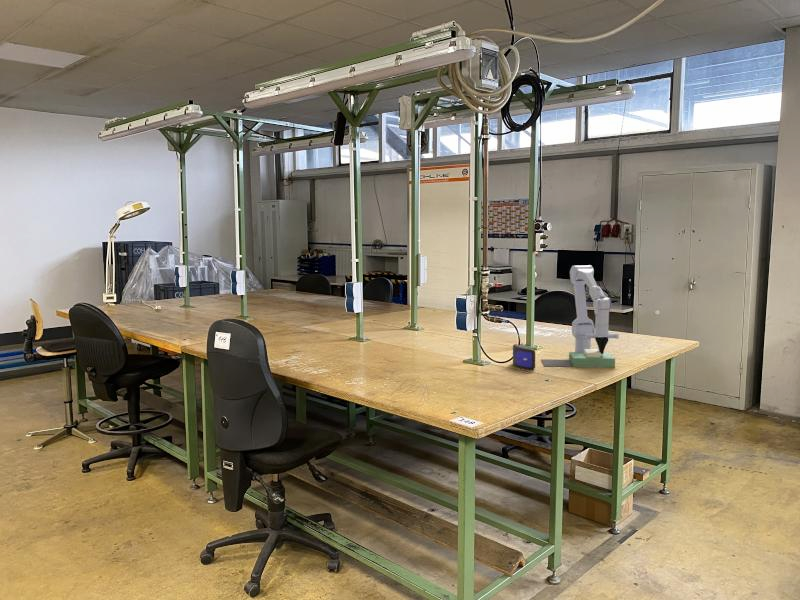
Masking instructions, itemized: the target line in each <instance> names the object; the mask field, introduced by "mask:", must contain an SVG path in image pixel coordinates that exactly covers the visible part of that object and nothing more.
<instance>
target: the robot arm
mask: <svg viewBox="0 0 800 600" xmlns="http://www.w3.org/2000/svg"><path fill="white" fill-rule="evenodd" d="M594 273H595V270H594V267H593V266H592V265H591V264H588V265H572V266H571V268H570V269H569V278H570V283H571V284H572V285H573V291H574V300H575V302H574V303H575V309H576V310H575V311H576V318H575V319H574V320H573V321H572V322H571V333H572V336H573V337H574V338H575V339H574V352H584V349H592V347H591V346H592V345H591V344H592V339H594V340H595V342H596V345H597V348H598V350H599V352H600V353H601V354H603V353H604V352H605V349H606V346H607V344H608V342H609V339H619V336H620V335H619V333H611V332H609V321H610V319H609V318H610V311H611V310H612V306H613V305H612V300H611V298H610V297H608V296H606V295H605V293H604V291H603V289H602V288H601V286H598V285H597V282H596V280H595V278H594ZM585 285H586V286H587V288H589V291H588V293H589V296H590V298H591V300H592V302H593V303H592V307H593V309H594V315H595V318H594V319H595V325H594V322H593V320H592V319H591V318H589V317H588V308H587V306H588V305H587V299H586V288H585Z"/></svg>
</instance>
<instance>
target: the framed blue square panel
mask: <svg viewBox="0 0 800 600" xmlns="http://www.w3.org/2000/svg"><path fill="white" fill-rule="evenodd" d="M512 364H513V366H515V367H516V368H519V369H522V368H523V370H528V371H529V370H530V371H533V370H535V369H536V351H535V349H534V348H530V347H527V346H524V345H521V344H517V343H515V344H514V343H513V345H512Z"/></svg>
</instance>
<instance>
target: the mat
mask: <svg viewBox="0 0 800 600" xmlns="http://www.w3.org/2000/svg"><path fill="white" fill-rule="evenodd" d="M540 361H541V364H542V366H543V365H544V366H543V367H549V368H551V367H552V368H553V367H555V368H556V367H557V368H559V367H560V368H561V367H562V368H574V367H573V365H572V363H571V362H570V360H569V359H547V358H546V359H540Z"/></svg>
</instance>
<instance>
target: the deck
mask: <svg viewBox="0 0 800 600" xmlns="http://www.w3.org/2000/svg"><path fill="white" fill-rule="evenodd" d="M568 360H570V362H571V363H572V365H573V367H572V368H616V358H615V357H614V356H613V355H612V354H611V353H610V352H608V351H606V352H605V351H604V353H603V354H601V357H587V356H586V355H585V354H584V352H575V351H569V352H568Z"/></svg>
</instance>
